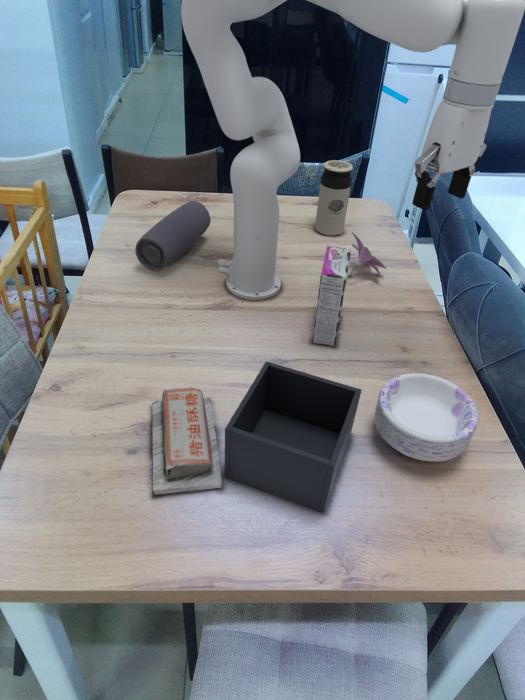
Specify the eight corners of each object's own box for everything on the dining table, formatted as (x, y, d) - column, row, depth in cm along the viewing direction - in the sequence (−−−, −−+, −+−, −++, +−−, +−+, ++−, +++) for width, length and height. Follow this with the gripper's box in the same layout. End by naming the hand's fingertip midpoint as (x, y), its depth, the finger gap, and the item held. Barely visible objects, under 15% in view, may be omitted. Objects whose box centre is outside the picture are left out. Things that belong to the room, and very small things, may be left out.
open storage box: (224, 476, 76) (224, 428, 69) (262, 407, 87) (266, 360, 80) (324, 512, 72) (334, 466, 65) (350, 435, 83) (361, 389, 76)
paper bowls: (364, 401, 89) (373, 368, 84) (450, 406, 90) (463, 373, 84) (377, 472, 78) (388, 438, 73) (475, 478, 78) (493, 444, 73)
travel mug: (315, 222, 144) (323, 158, 133) (343, 225, 144) (353, 161, 132) (313, 234, 138) (322, 169, 127) (343, 237, 138) (353, 172, 126)
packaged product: (149, 386, 83) (210, 381, 84) (152, 407, 86) (210, 402, 87) (150, 476, 69) (222, 469, 71) (153, 497, 72) (222, 489, 74)
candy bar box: (316, 312, 110) (326, 244, 99) (339, 316, 109) (352, 248, 99) (310, 343, 101) (320, 273, 91) (335, 347, 101) (348, 277, 90)
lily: (381, 294, 118) (402, 257, 115) (337, 274, 116) (358, 235, 113) (367, 282, 129) (386, 248, 127) (327, 263, 127) (345, 228, 124)
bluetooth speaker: (181, 231, 136) (179, 195, 129) (212, 238, 133) (212, 202, 127) (135, 270, 119) (130, 231, 113) (170, 280, 117) (167, 240, 110)
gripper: (482, 82, 82) (451, 184, 93) (413, 92, 74) (388, 204, 85) (524, 93, 78) (486, 199, 89) (456, 105, 69) (423, 221, 80)
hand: (438, 201), depth 87 cm, fingers open, 9 cm apart
